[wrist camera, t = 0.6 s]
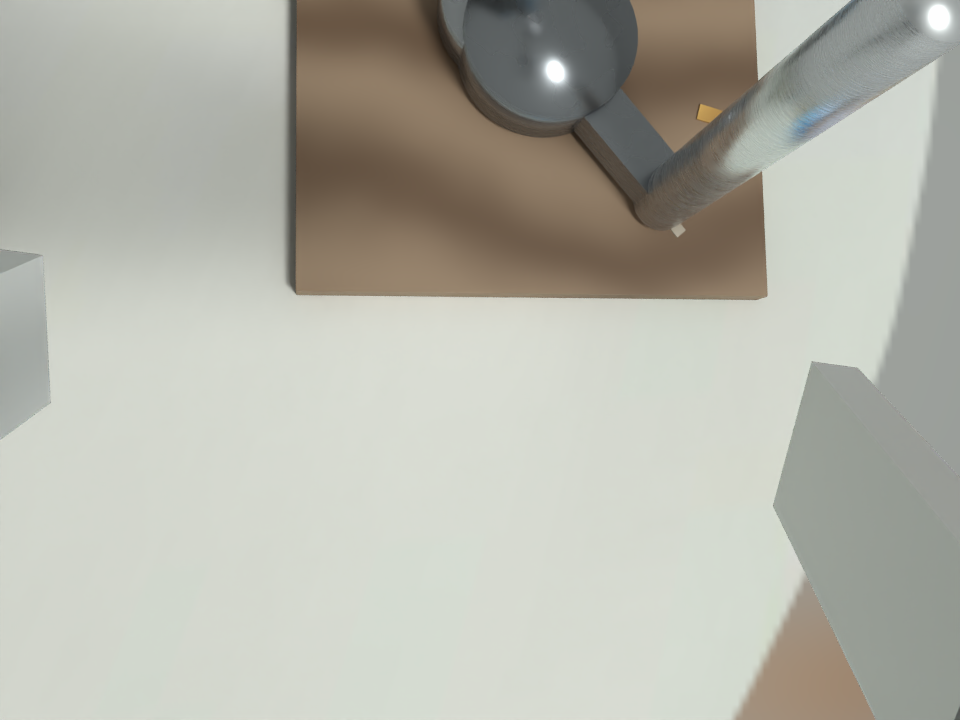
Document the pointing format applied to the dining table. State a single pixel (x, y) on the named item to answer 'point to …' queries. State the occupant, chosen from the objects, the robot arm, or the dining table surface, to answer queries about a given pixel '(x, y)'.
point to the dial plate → (505, 167)
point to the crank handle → (626, 132)
